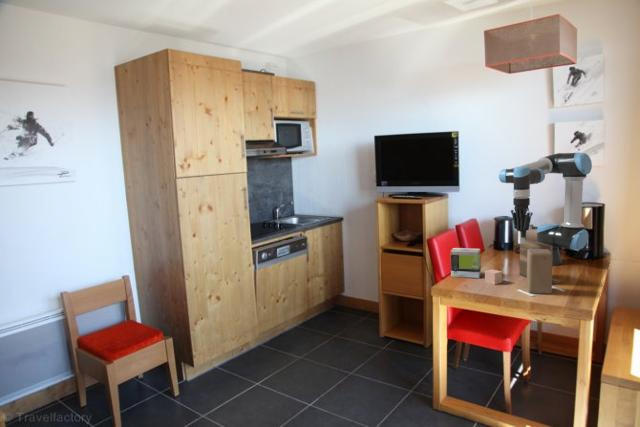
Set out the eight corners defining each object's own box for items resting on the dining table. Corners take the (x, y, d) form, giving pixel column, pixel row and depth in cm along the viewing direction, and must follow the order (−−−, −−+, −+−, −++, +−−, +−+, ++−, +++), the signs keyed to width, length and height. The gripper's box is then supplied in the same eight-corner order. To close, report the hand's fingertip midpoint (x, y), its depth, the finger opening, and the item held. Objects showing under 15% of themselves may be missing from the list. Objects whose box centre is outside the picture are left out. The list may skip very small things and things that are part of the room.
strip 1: (519, 290, 221) (519, 289, 221) (534, 296, 211) (534, 295, 211) (517, 290, 220) (517, 289, 220) (532, 296, 211) (532, 295, 211)
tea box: (480, 274, 251) (481, 248, 249) (479, 279, 242) (479, 252, 240) (453, 272, 257) (453, 247, 255) (450, 277, 248) (450, 250, 246)
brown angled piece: (531, 273, 248) (532, 237, 245) (560, 282, 229) (561, 244, 226) (519, 274, 246) (519, 239, 243) (547, 284, 227) (548, 246, 224)
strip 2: (548, 285, 226) (548, 284, 225) (564, 291, 216) (564, 290, 216) (545, 285, 225) (545, 285, 225) (561, 291, 216) (561, 290, 216)
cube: (492, 280, 239) (492, 269, 238) (502, 282, 234) (502, 271, 233) (484, 282, 236) (484, 271, 235) (494, 284, 231) (494, 273, 230)
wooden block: (552, 294, 212) (553, 253, 209) (528, 293, 215) (529, 252, 212) (548, 288, 221) (549, 248, 219) (526, 287, 224) (527, 248, 222)
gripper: (506, 197, 230) (506, 241, 234) (524, 199, 218) (524, 246, 222) (518, 195, 233) (518, 240, 236) (537, 198, 220) (536, 244, 224)
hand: (521, 243), depth 229 cm, fingers closed
